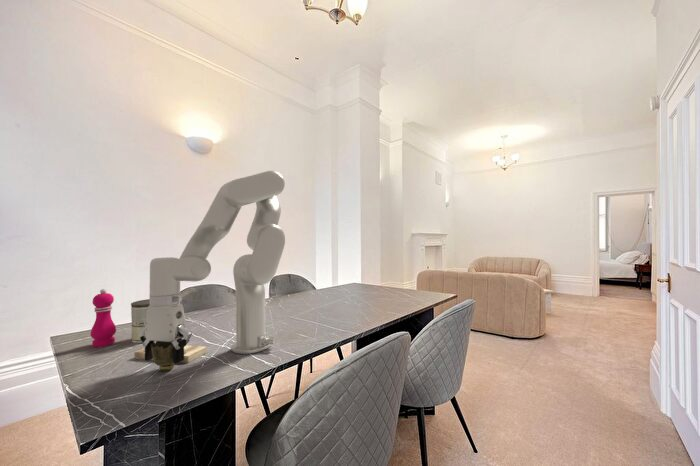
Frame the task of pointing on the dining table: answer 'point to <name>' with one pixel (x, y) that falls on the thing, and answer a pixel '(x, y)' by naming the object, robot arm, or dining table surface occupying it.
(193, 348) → the maple board
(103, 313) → the pepper mill
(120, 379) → the dining table surface
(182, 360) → the robot arm
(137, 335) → the coffee can
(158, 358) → the cup
